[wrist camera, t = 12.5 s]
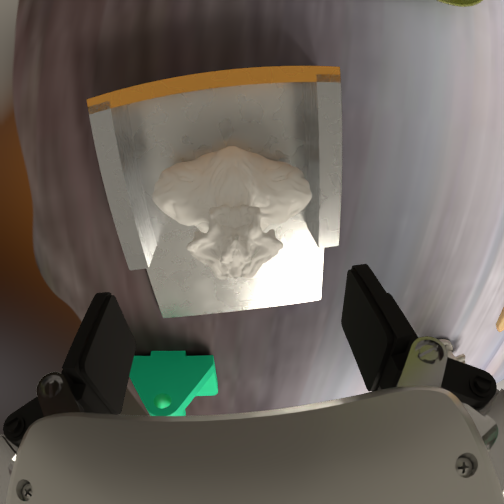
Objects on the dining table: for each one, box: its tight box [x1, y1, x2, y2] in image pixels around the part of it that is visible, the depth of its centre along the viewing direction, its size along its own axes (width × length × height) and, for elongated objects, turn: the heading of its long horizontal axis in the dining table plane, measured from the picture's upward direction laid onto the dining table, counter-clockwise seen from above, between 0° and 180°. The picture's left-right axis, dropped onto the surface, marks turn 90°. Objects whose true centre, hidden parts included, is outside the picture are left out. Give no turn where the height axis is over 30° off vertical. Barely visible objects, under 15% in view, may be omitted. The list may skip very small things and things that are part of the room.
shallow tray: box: [87, 66, 342, 318], centre depth 26 cm, size 18×24×5 cm
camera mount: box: [129, 351, 218, 416], centre depth 35 cm, size 12×8×10 cm, turn 90°
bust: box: [152, 146, 312, 279], centre depth 22 cm, size 12×8×11 cm
